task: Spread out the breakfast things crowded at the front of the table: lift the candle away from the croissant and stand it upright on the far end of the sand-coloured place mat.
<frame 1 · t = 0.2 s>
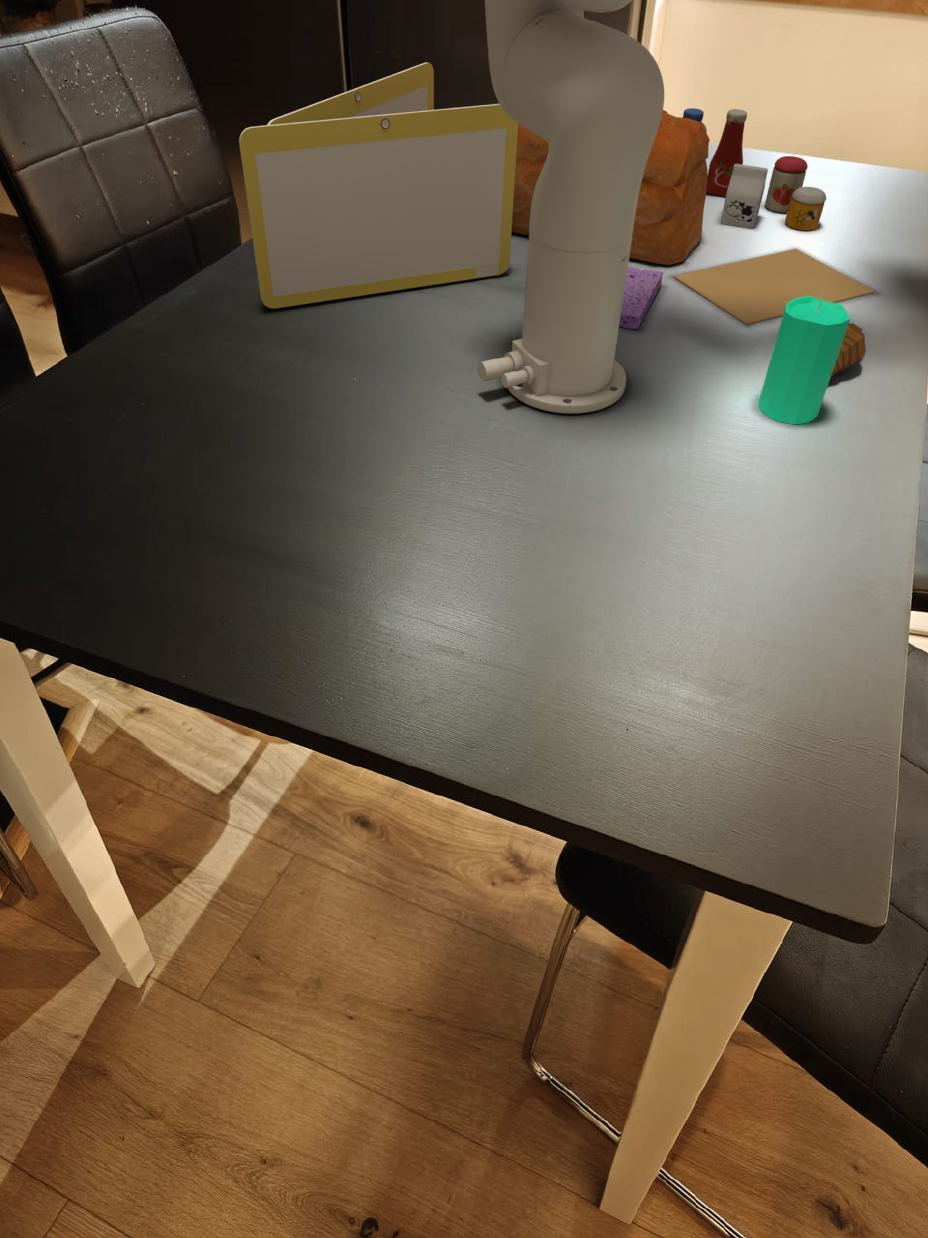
toy food: (724, 208, 130), on the table
bread: (596, 233, 123), on the table
croissant: (826, 366, 98), on the table
sponge: (620, 304, 108), on the table
place mat: (772, 284, 112), on the table
tablet: (405, 277, 112), on the table
candle: (787, 409, 92), on the table
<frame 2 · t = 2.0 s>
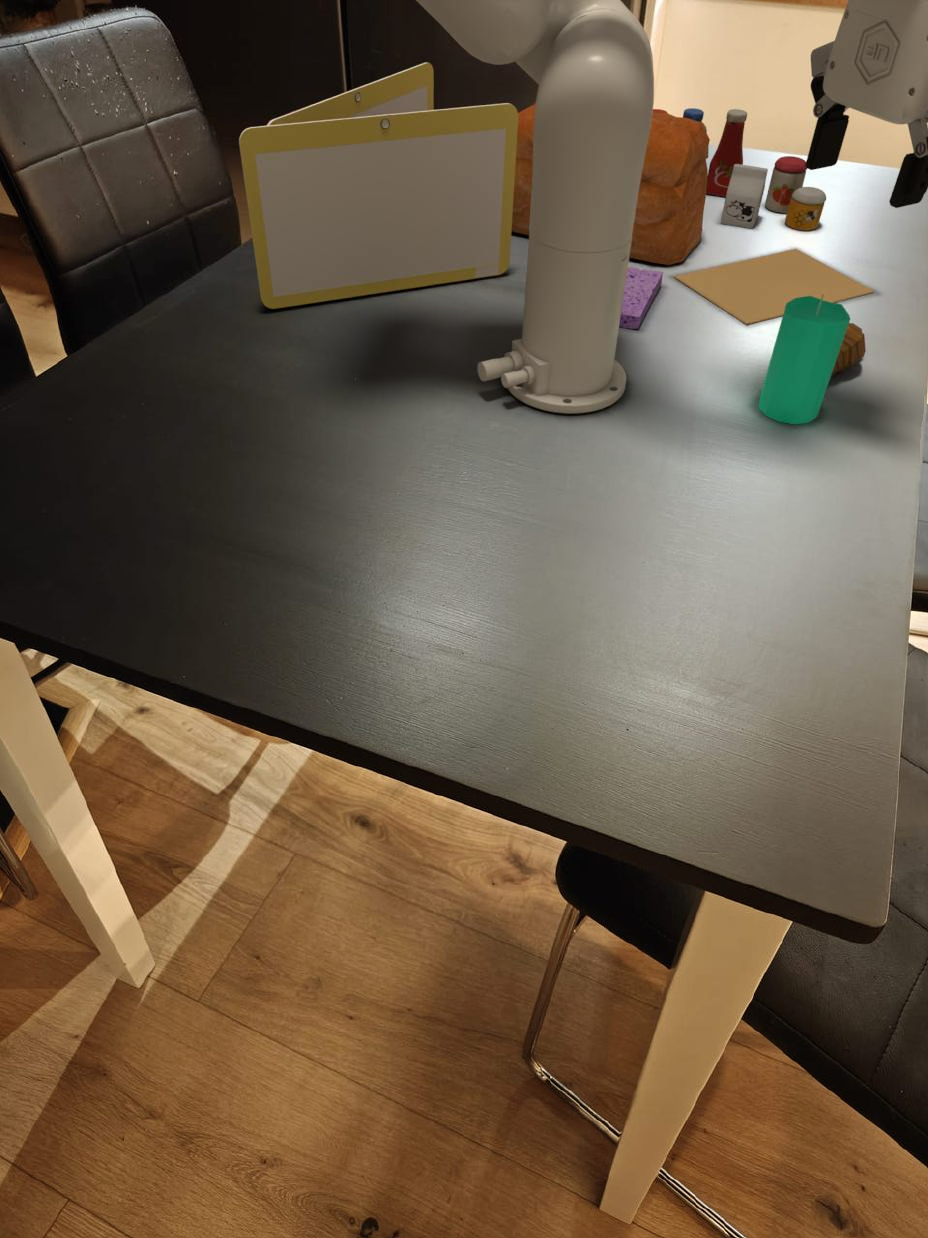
hand: (860, 184, 77), 21 cm above the table, tool pointing down, fingers open, 9 cm apart
nothing on the table moved.
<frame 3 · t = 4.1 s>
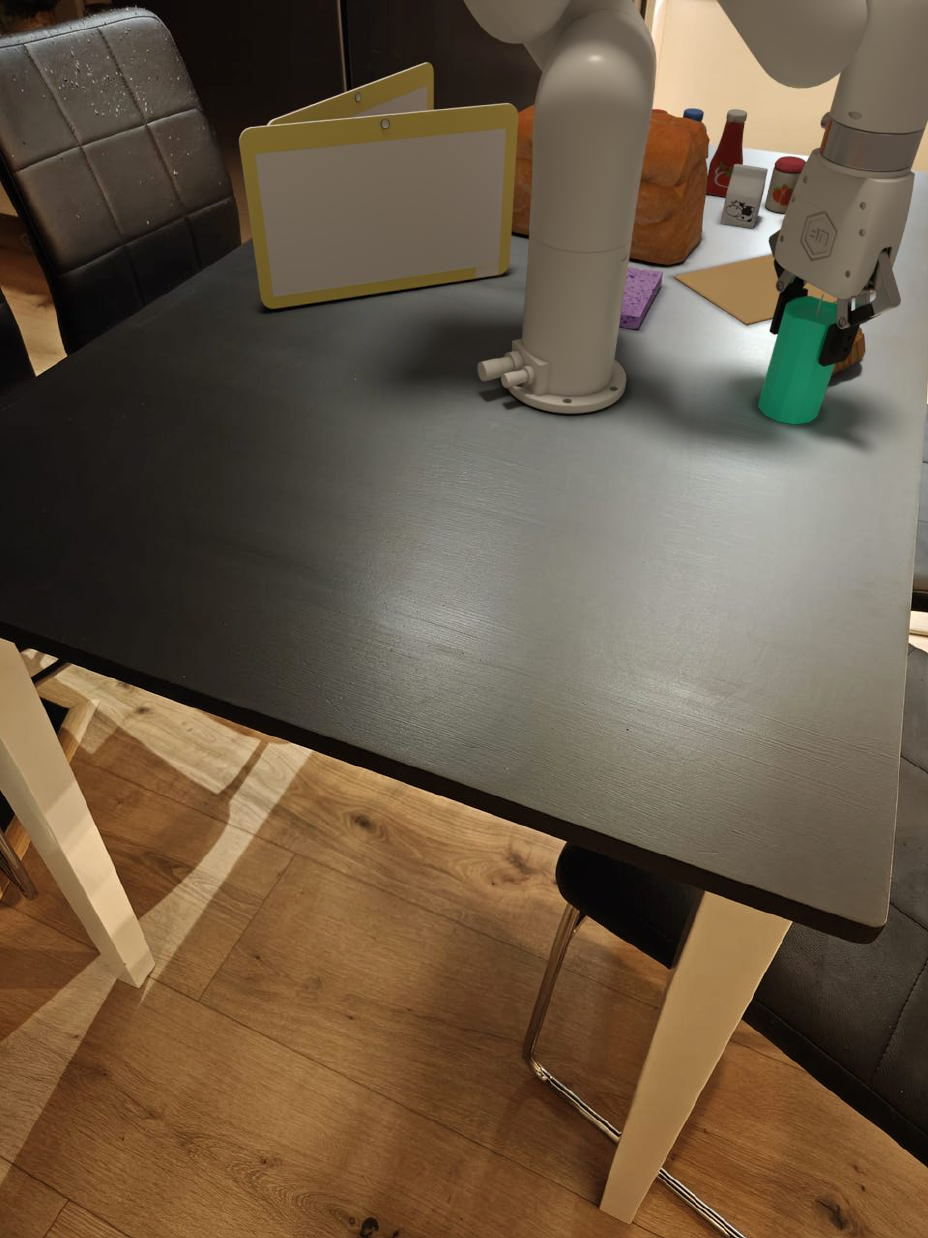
hand: (807, 344, 87), 7 cm above the table, tool pointing down, fingers closed on candle, 6 cm apart
candle: (787, 409, 92), on the table, touching gripper
everything else where it was.
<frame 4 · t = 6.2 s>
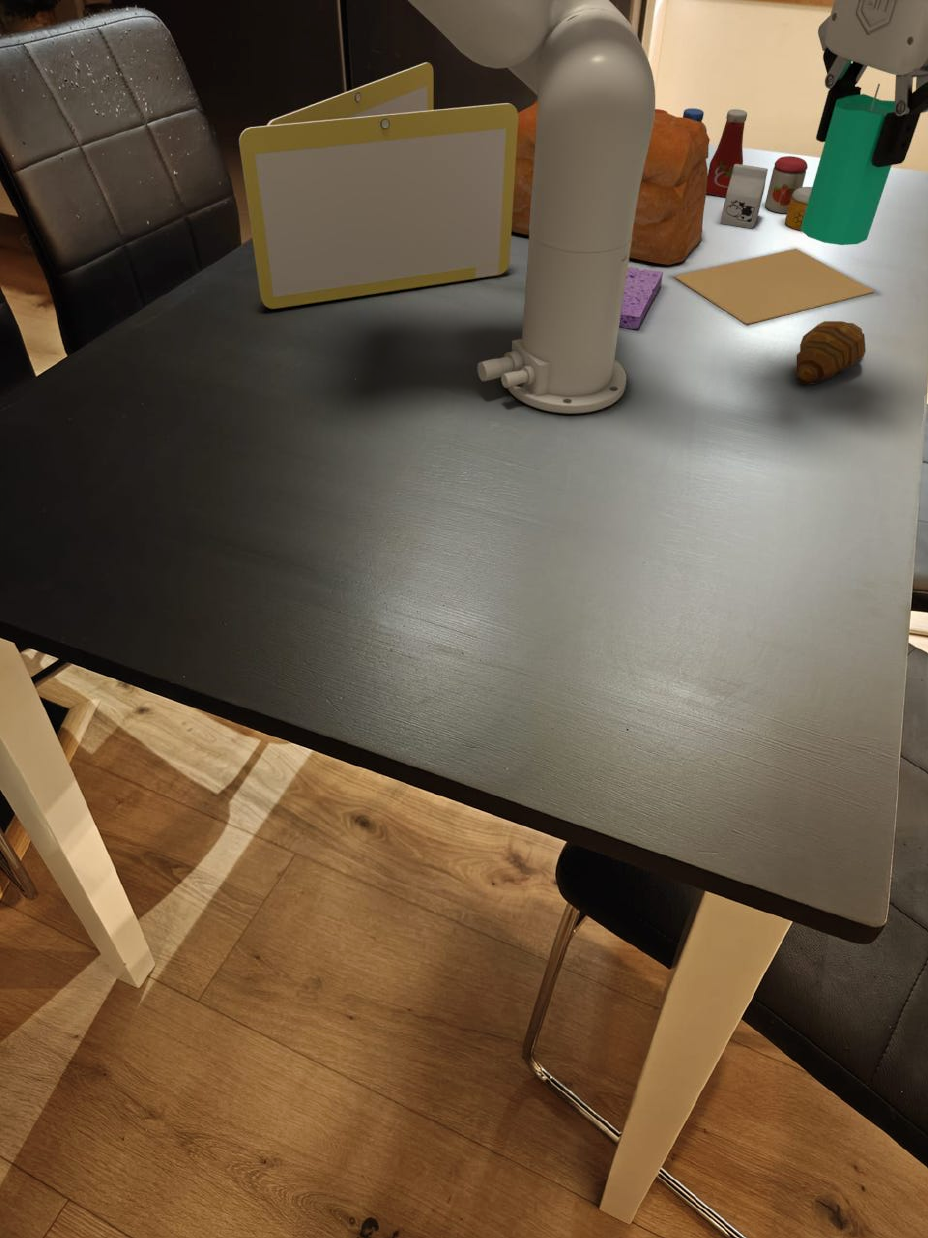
hand: (858, 149, 78), 23 cm above the table, tool pointing down, fingers closed on candle, 6 cm apart
candle: (833, 233, 83), point 16 cm above the table, touching gripper
everything else where it was.
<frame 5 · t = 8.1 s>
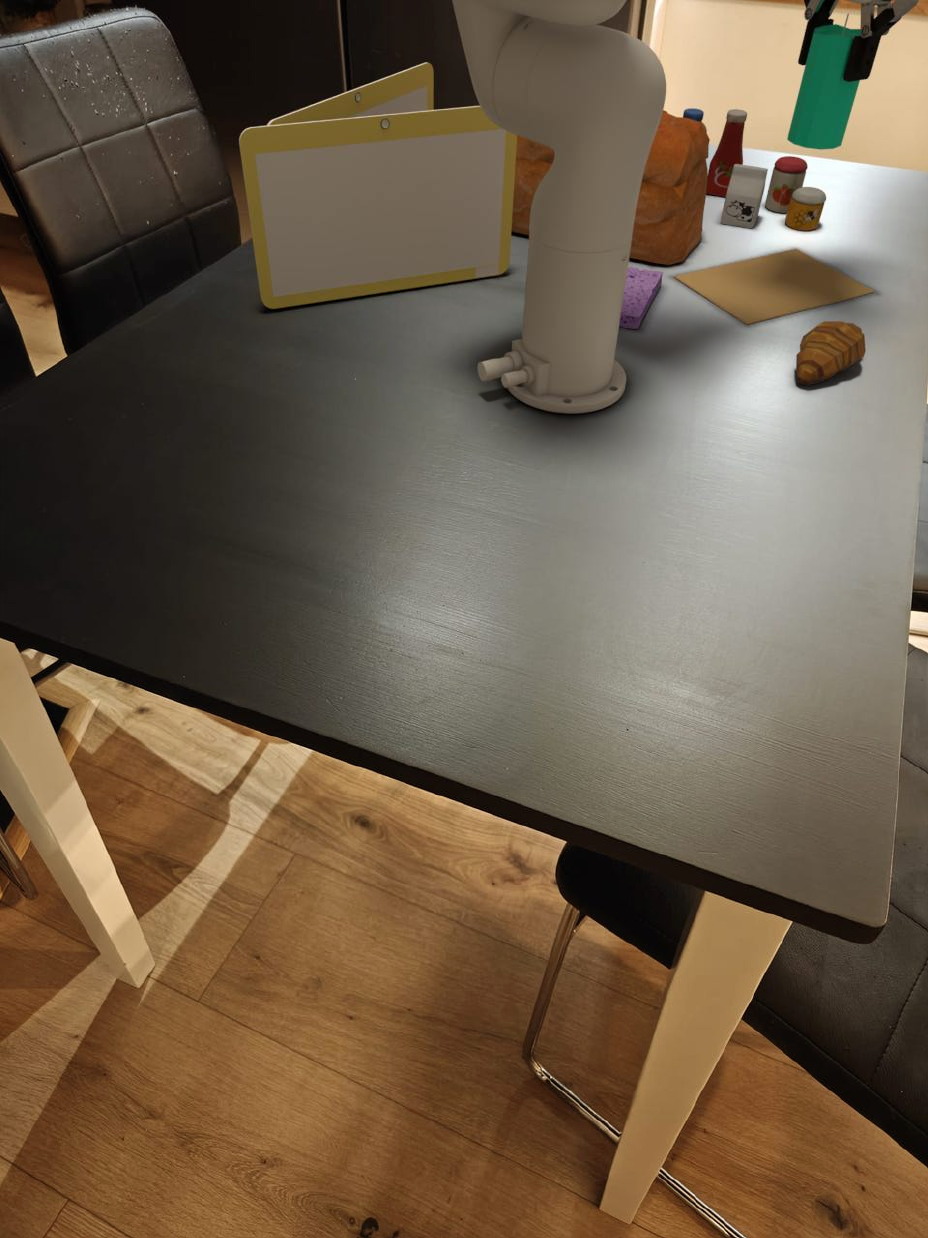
hand: (832, 69, 96), 23 cm above the table, tool pointing down, fingers closed on candle, 6 cm apart
candle: (813, 142, 101), point 16 cm above the table, touching gripper
everything else where it was.
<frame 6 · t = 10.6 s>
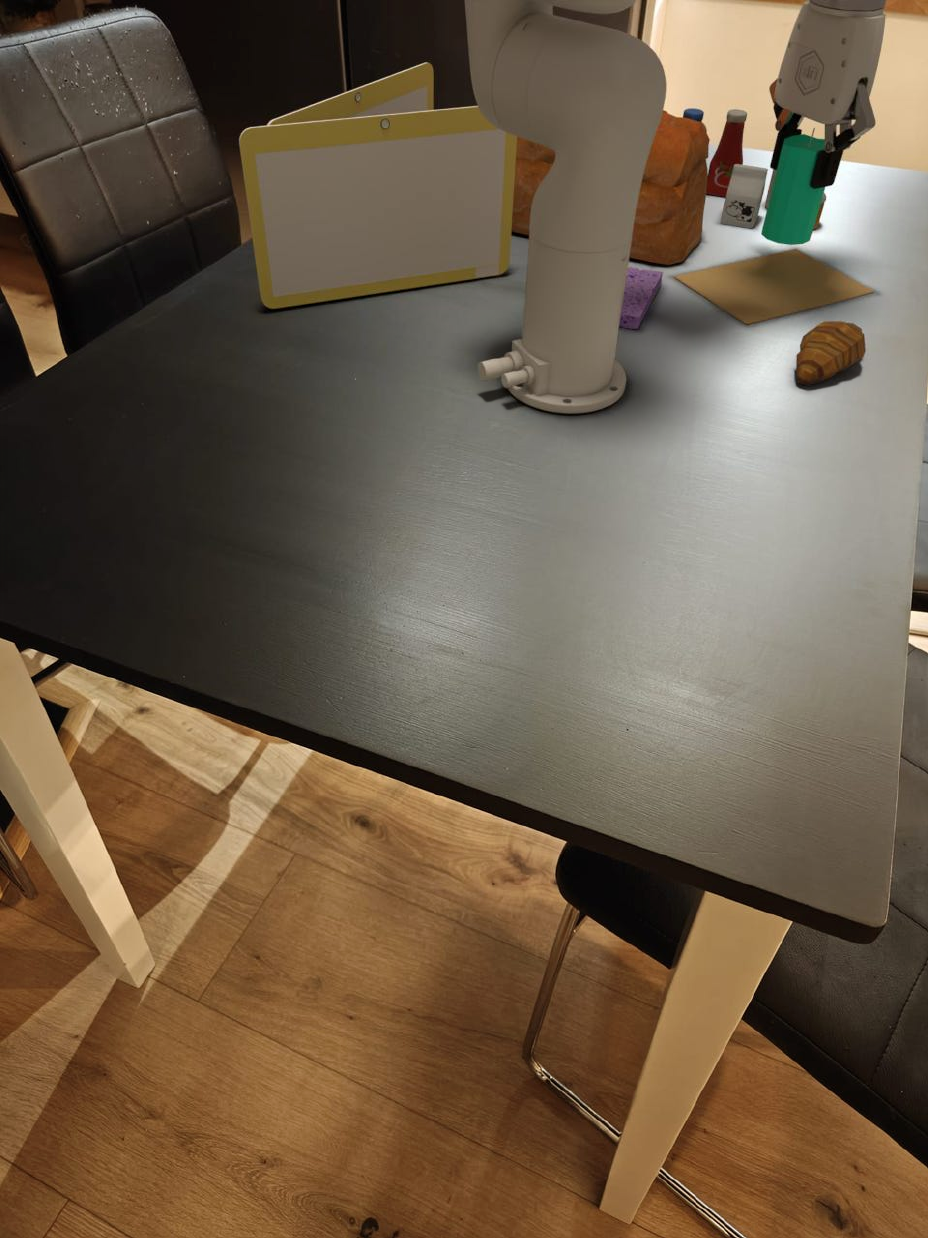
hand: (801, 175, 106), 12 cm above the table, tool pointing down, fingers closed on candle, 6 cm apart
candle: (785, 236, 111), point 5 cm above the table, touching gripper
everything else where it was.
when the fingers open (7 cm above the table, at t = 12.3 s): candle stays where it is, resting on place mat.
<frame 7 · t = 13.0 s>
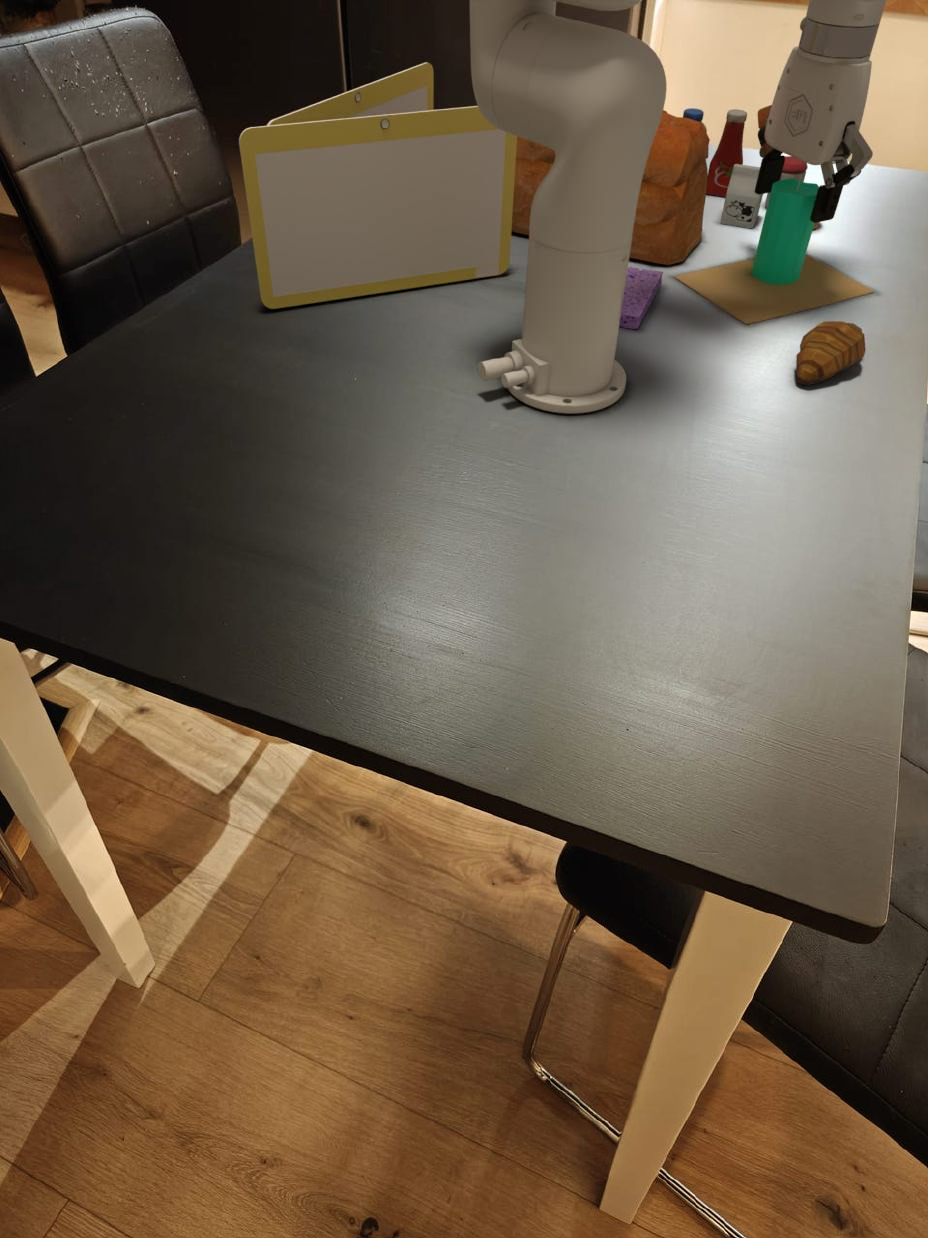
hand: (792, 205, 108), 9 cm above the table, tool pointing down, fingers open, 9 cm apart
candle: (774, 275, 114), resting on place mat
everything else where it was.
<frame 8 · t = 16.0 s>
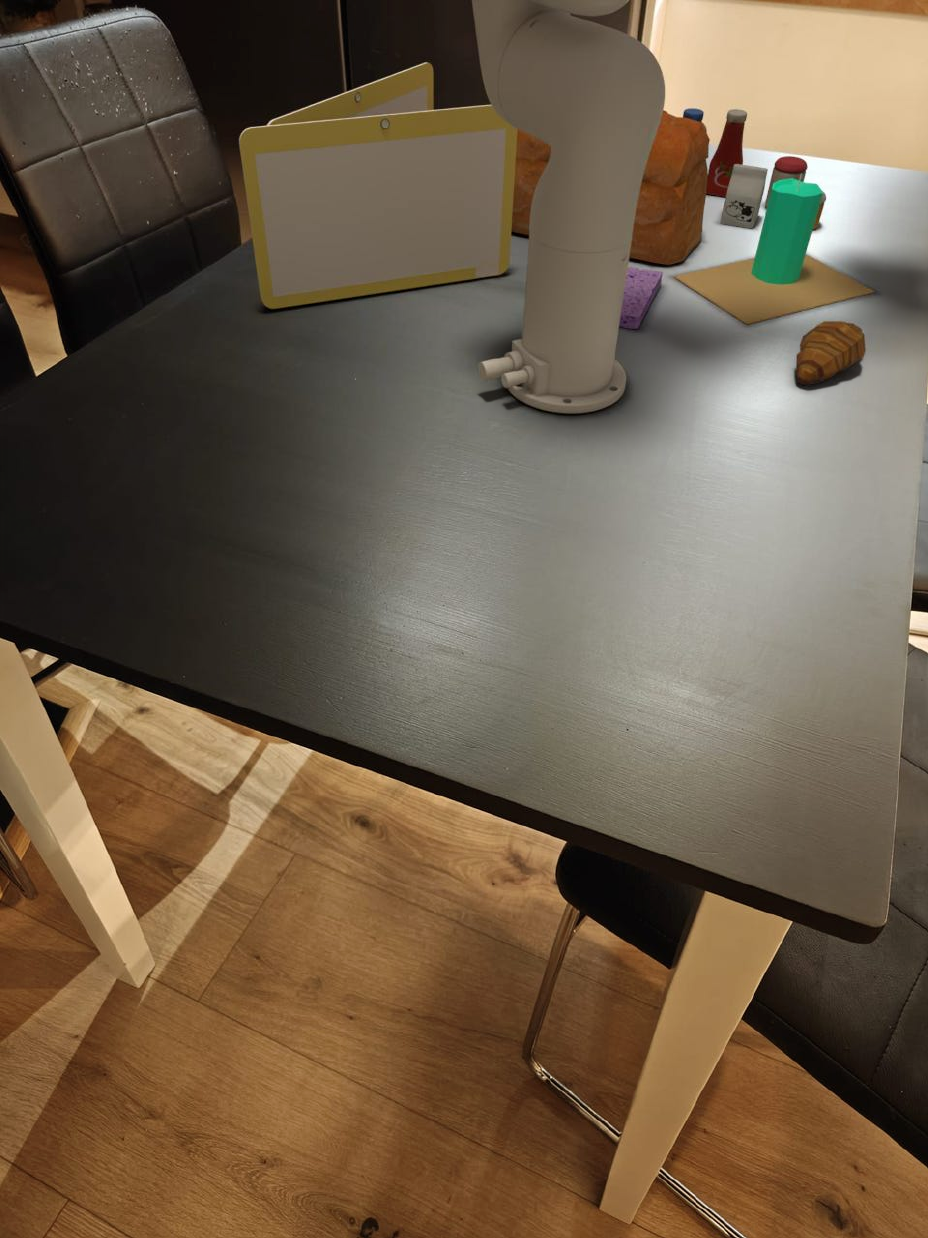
nothing on the table moved.
at the end: candle inside the target area on the place mat (1.0 cm from its centre), point 0.0 cm above the place mat's base; candle tilted 0°; candle moved 32.0 cm from its start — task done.
